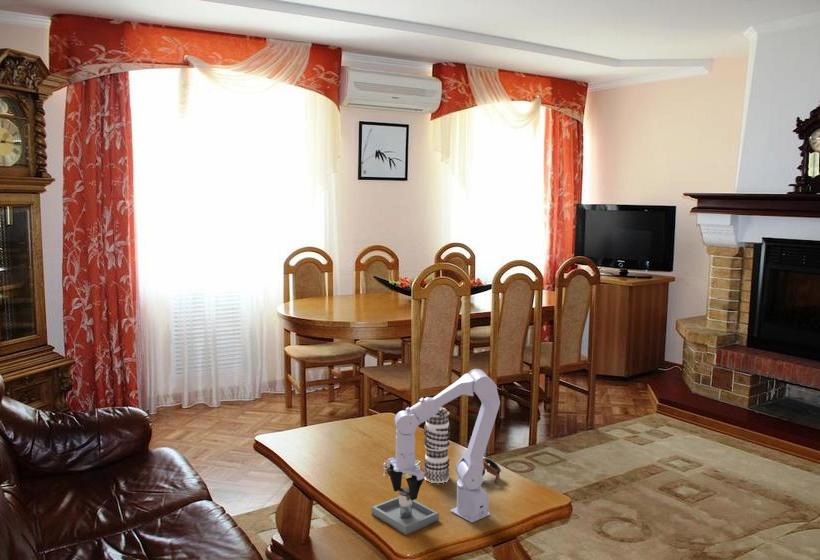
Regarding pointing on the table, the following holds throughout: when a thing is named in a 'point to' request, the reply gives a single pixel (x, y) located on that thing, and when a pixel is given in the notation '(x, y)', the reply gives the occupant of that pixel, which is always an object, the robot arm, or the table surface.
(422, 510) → the tray
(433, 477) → the decorative candle
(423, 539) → the table surface
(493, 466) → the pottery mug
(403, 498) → the shaker
